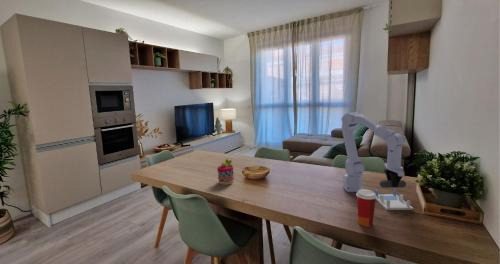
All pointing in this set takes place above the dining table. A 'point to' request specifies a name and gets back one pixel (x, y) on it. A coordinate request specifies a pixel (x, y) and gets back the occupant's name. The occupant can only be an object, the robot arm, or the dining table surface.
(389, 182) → the dark grey capsule
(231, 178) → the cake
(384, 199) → the board
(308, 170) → the dining table surface
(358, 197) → the paper cup
